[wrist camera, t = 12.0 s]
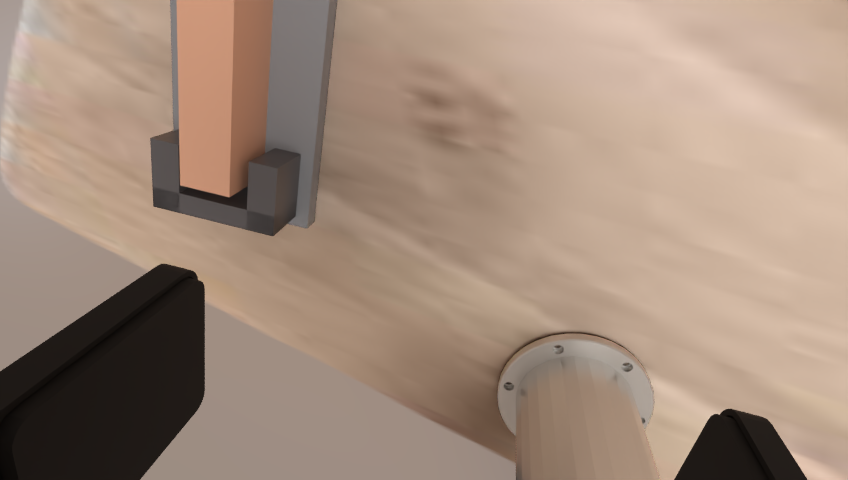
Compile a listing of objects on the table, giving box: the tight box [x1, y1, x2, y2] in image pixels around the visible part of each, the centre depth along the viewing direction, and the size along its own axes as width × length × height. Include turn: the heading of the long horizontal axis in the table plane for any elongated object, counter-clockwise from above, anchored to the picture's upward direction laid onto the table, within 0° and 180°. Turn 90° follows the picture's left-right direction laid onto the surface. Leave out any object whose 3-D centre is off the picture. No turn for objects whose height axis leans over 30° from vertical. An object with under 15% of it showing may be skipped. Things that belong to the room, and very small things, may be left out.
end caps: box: [150, 129, 301, 236], centre depth 32 cm, size 25×9×4 cm, turn 169°
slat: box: [177, 0, 273, 197], centre depth 31 cm, size 20×4×5 cm, turn 169°
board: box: [170, 0, 337, 228], centre depth 34 cm, size 27×11×2 cm, turn 169°
